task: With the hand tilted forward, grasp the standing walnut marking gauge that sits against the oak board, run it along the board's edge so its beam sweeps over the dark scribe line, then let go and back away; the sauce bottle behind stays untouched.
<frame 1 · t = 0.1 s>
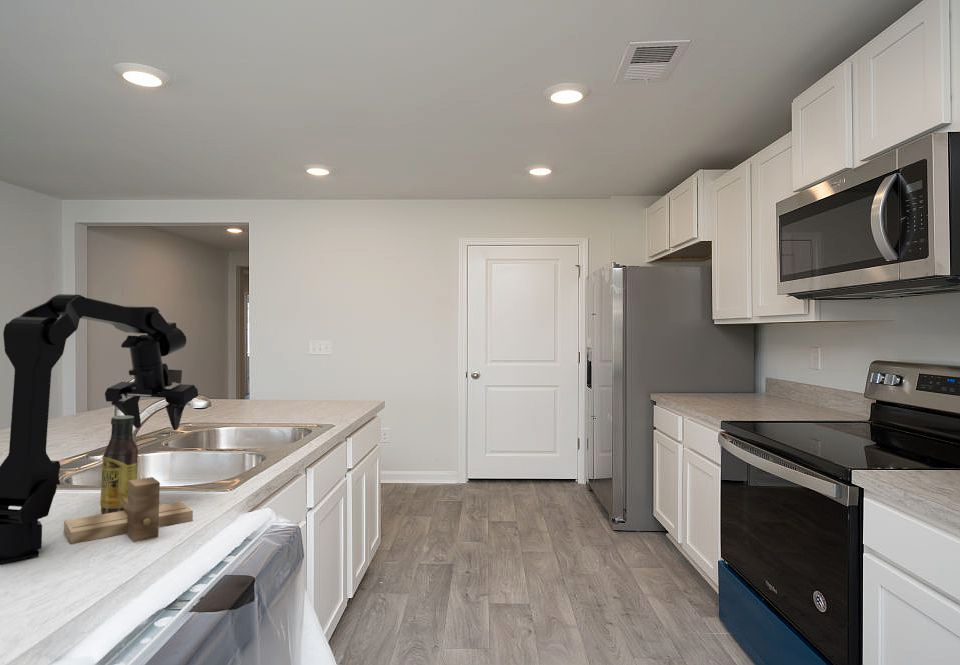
hand: (157, 428, 129), 15 cm above the countertop, tool pointing down, fingers open, 9 cm apart
gauge: (142, 535, 106), on the countertop
board: (130, 525, 110), on the countertop
sauce bottle: (118, 513, 118), on the countertop
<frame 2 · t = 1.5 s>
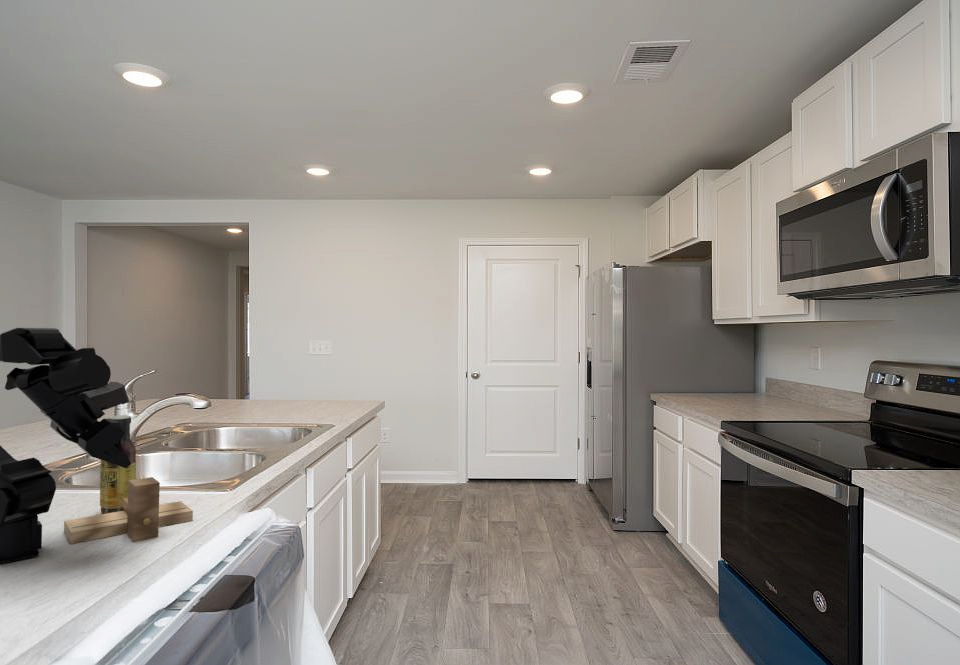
hand: (118, 459, 104), 14 cm above the countertop, tool tilted 40°, fingers open, 9 cm apart
nothing on the countertop moved.
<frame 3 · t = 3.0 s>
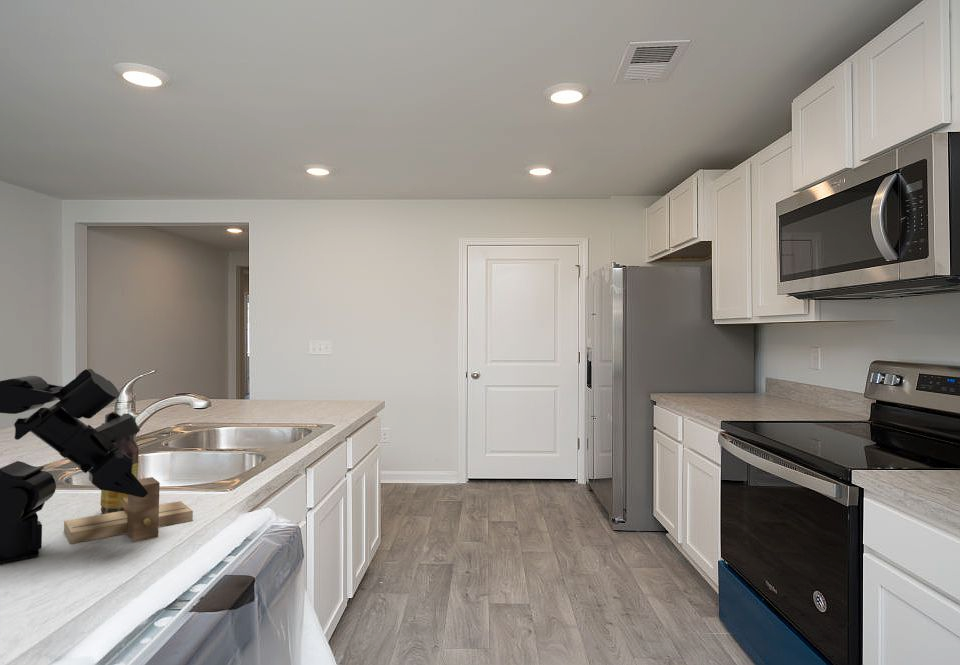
hand: (139, 489, 105), 9 cm above the countertop, tool tilted 45°, fingers open, 9 cm apart
nothing on the countertop moved.
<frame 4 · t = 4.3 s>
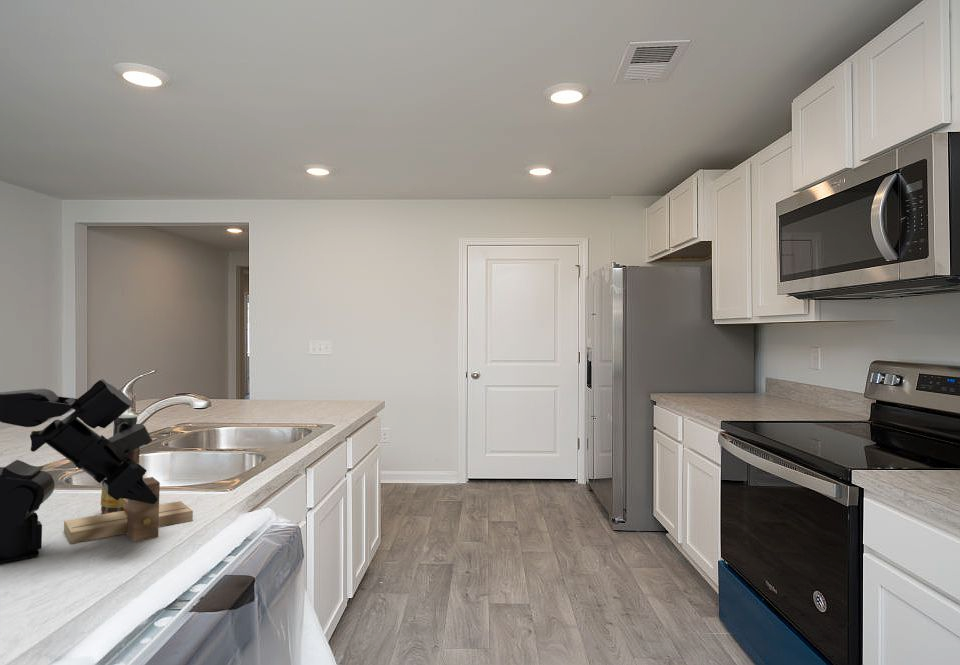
hand: (152, 498, 106), 7 cm above the countertop, tool tilted 45°, fingers closed on gauge, 5 cm apart
gauge: (142, 535, 106), on the countertop, touching gripper
everything else where it was.
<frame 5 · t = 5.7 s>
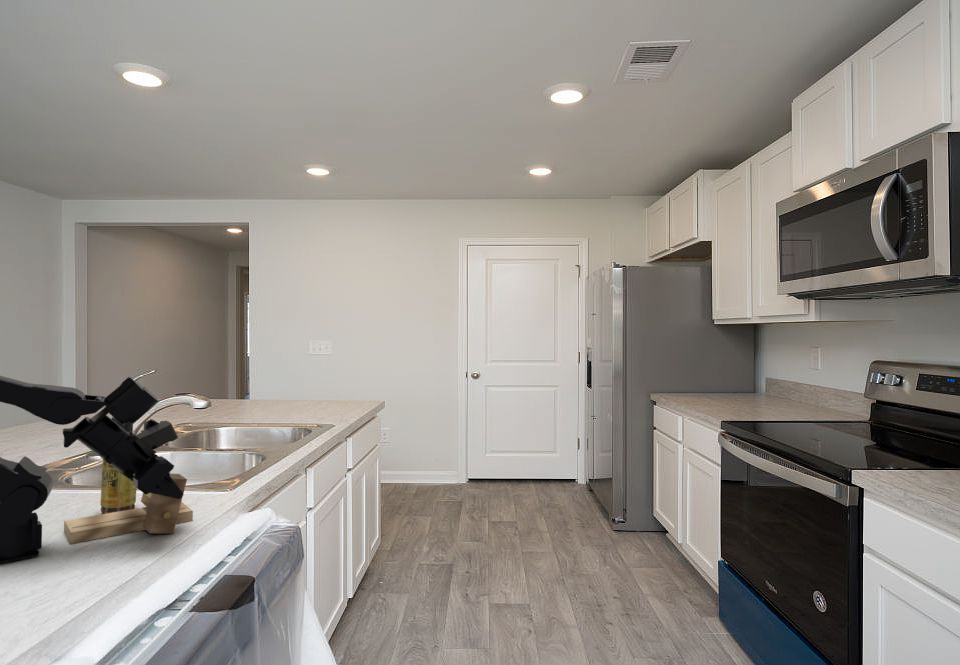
hand: (177, 493, 109), 7 cm above the countertop, tool tilted 45°, fingers closed on gauge, 5 cm apart
gauge: (158, 529, 107), point 1 cm above the countertop, tilted 12°, touching gripper
everything else where it was.
when the fingers open (7 cm above the countertop, at t = 7.3 s): gauge stays where it is, on the countertop.
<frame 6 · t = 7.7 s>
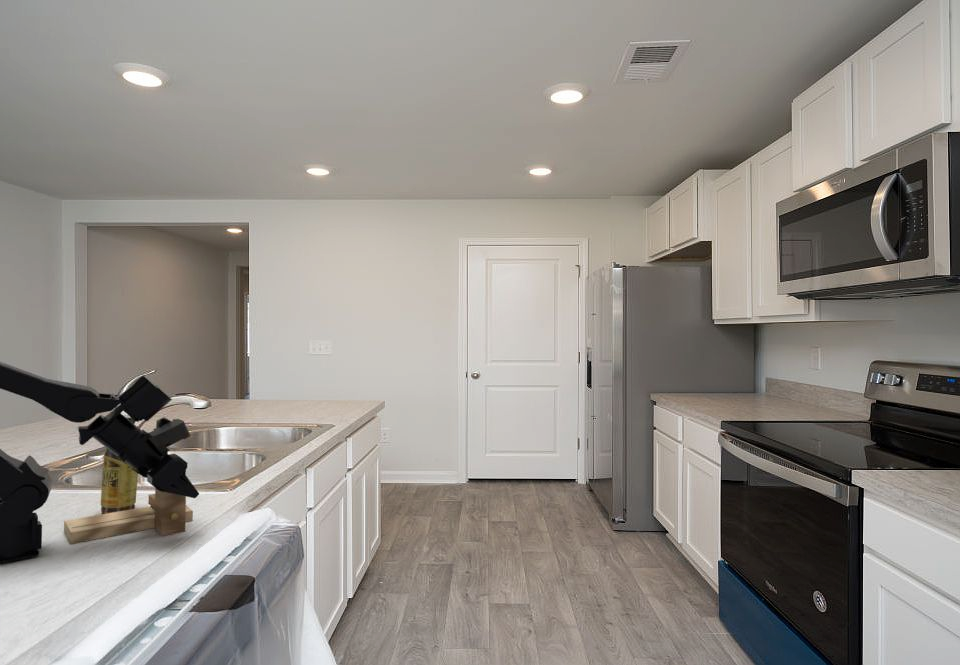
hand: (189, 490, 111), 7 cm above the countertop, tool tilted 45°, fingers open, 9 cm apart
gauge: (169, 530, 109), on the countertop
everything else where it was.
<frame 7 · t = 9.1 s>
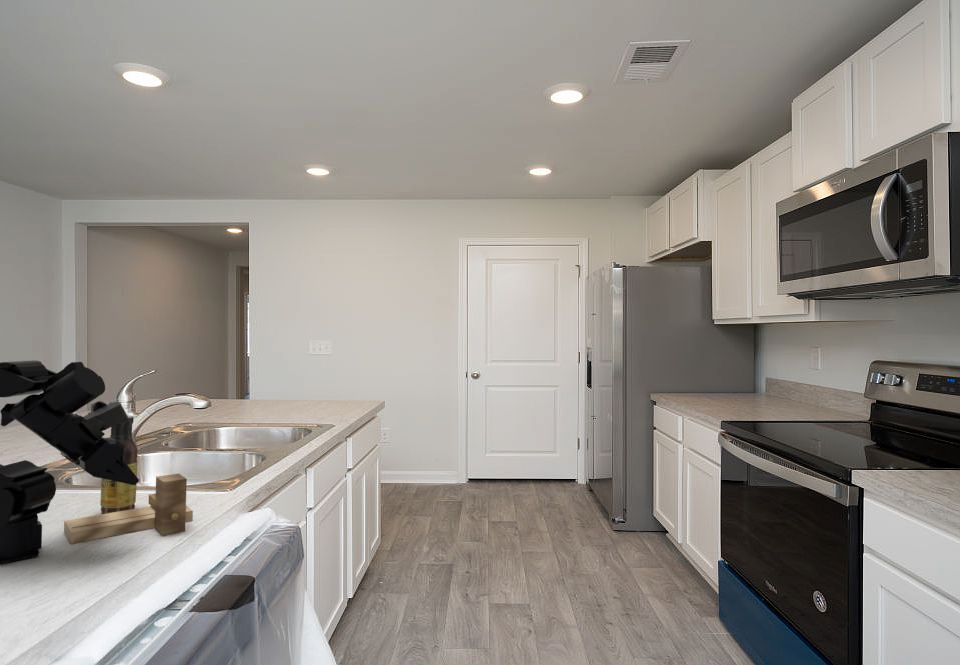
hand: (129, 478, 104), 11 cm above the countertop, tool tilted 45°, fingers open, 9 cm apart
nothing on the countertop moved.
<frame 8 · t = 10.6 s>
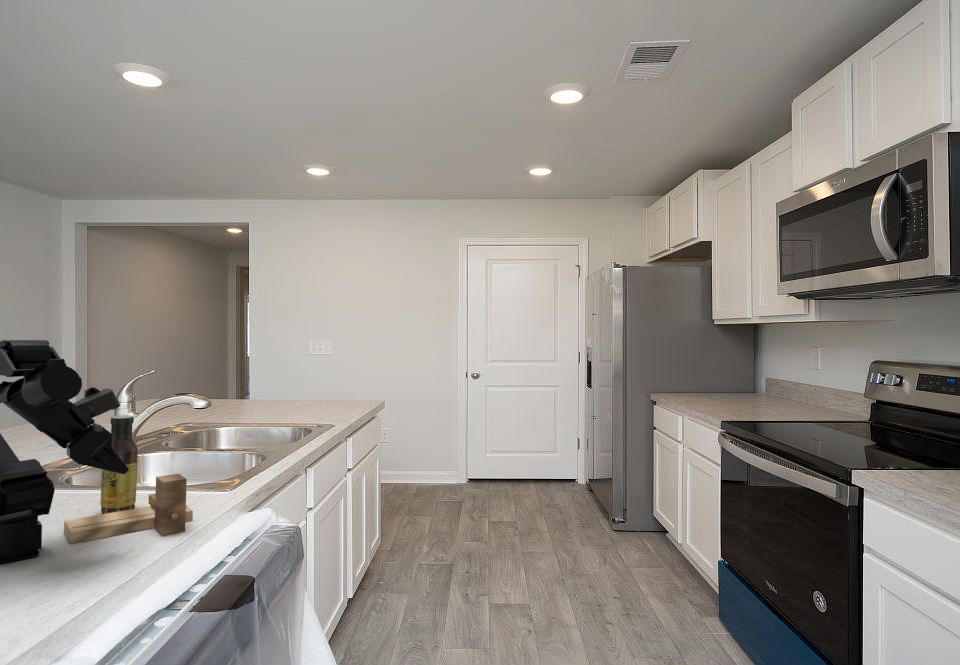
hand: (120, 466, 102), 14 cm above the countertop, tool tilted 45°, fingers open, 9 cm apart
nothing on the countertop moved.
at the end: gauge 2.4 cm from the target spot, on the countertop; gauge tilted 0°; the gripper is holding nothing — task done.
